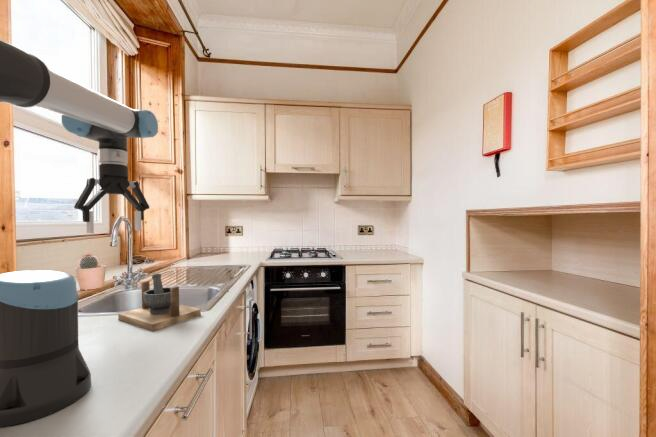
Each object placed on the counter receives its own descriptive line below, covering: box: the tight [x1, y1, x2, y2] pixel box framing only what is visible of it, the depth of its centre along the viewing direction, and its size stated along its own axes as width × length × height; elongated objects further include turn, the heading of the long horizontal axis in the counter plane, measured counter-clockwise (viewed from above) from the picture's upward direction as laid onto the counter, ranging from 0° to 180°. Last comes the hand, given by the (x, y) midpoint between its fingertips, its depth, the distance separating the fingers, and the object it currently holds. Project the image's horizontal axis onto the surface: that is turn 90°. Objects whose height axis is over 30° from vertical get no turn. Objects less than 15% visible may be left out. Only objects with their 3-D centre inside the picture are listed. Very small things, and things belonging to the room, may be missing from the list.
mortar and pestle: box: [143, 273, 171, 315], centre depth 101 cm, size 11×9×12 cm
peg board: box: [117, 280, 202, 332], centre depth 101 cm, size 16×20×11 cm
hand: (115, 231), depth 97 cm, fingers open, 13 cm apart
